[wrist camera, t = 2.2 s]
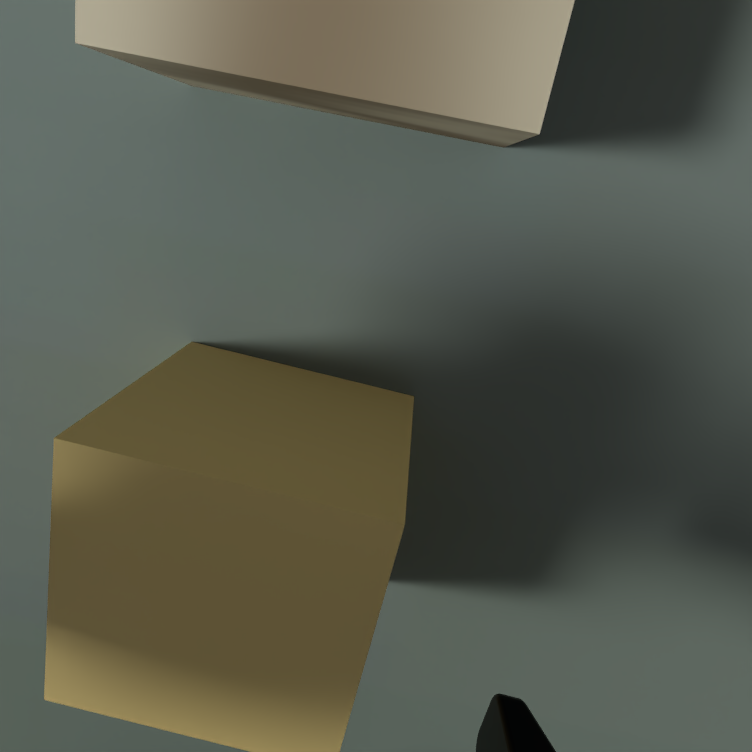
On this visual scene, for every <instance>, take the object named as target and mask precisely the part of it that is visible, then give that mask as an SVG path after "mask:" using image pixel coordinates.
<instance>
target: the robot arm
mask: <svg viewBox="0 0 752 752" xmlns="http://www.w3.org/2000/svg"><path fill="white" fill-rule="evenodd" d="M476 752H556V751H555V749H554V748H553V746H552V745H551V743H550V742H549V740H548V738H547V737H546V735H545V734H544V732H543V730H542V729H541V727H540V726H539V724H538V723H537V721H536V719H535V718H534V716H533V715H532V713H531V711H530V710H529V708H528V707H527V705H526V704H525V703H524V702H523V701H522V700H521V699H519V698H515V697H511V696H507V695H503V694H496V695H494V697H493V698H492V700H491V702H490V705H489V707H488V710H487V712H486V715H485V717H484V720H483V722H482V725H481V727H480V730H479V733H478V737H477V744H476Z"/></svg>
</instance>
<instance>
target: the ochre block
mask: <svg viewBox="0 0 752 752" xmlns="http://www.w3.org/2000/svg"><path fill="white" fill-rule="evenodd" d="M413 405H414V396H411V395H407V394H403V393H399V392H394V391H390V390H386V389H382V388H378V387H374V386H370V385H366V384H362V383H358V382H354V381H350V380H346V379H341V378H337V377H333V376H329V375H325V374H321V373H317V372H313V371H309V370H305V369H301V368H297V367H293V366H289V365H284V364H280V363H276V362H272V361H268V360H264V359H260V358H256V357H252V356H248V355H244V354H240V353H236V352H232V351H227V350H223V349H219V348H215V347H211V346H207V345H203V344H199V343H195V342H191V343H189V344H188V345H186V346H185V347H184V348H182V349H181V350H179V351H178V352H176V353H175V354H174V355H172V356H171V357H169V358H168V359H166V360H165V361H164V362H162V363H161V364H159V365H158V366H156V367H155V368H154V369H152V370H151V371H149V372H148V373H146V374H145V375H143V376H142V377H141V378H139V379H138V380H136V381H135V382H133V383H132V384H131V385H129V386H128V387H126V388H125V389H123V390H122V391H121V392H119V393H118V394H116V395H115V396H113V397H112V398H111V399H109V400H108V401H106V402H105V403H103V404H102V405H101V406H99V407H98V408H96V409H95V410H93V411H92V412H91V413H89V414H88V415H86V416H85V417H83V418H82V419H81V420H79V421H78V422H76V423H75V424H73V425H72V426H71V427H69V428H68V429H66V430H65V431H63V432H62V433H61V434H59V435H58V436H56V437H55V438H54V452H53V478H52V505H51V531H50V558H49V584H48V611H47V637H46V664H45V690H44V700H47V701H51V702H55V703H59V704H63V705H67V706H71V707H75V708H78V709H82V710H86V711H90V712H94V713H98V714H102V715H106V716H110V717H114V718H118V719H122V720H126V721H130V722H134V723H138V724H142V725H146V726H150V727H154V728H158V729H162V730H166V731H170V732H174V733H178V734H182V735H186V736H190V737H194V738H198V739H202V740H206V741H210V742H214V743H218V744H222V745H226V746H230V747H234V748H238V749H242V750H246V751H250V752H340V748H341V745H342V741H343V738H344V734H345V731H346V727H347V724H348V720H349V717H350V714H351V710H352V707H353V703H354V700H355V696H356V693H357V689H358V686H359V682H360V679H361V675H362V672H363V668H364V665H365V661H366V658H367V655H368V651H369V648H370V644H371V641H372V637H373V634H374V630H375V627H376V623H377V620H378V616H379V613H380V609H381V606H382V602H383V599H384V596H385V592H386V589H387V585H388V582H389V578H390V575H391V571H392V568H393V564H394V561H395V557H396V554H397V550H398V547H399V543H400V540H401V537H402V533H403V530H404V526H405V516H406V502H407V488H408V474H409V460H410V446H411V433H412V419H413Z"/></svg>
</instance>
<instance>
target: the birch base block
mask: <svg viewBox="0 0 752 752" xmlns="http://www.w3.org/2000/svg"><path fill="white" fill-rule="evenodd" d="M574 1H575V0H75V43H77V44H80V45H82V46H85V47H88V48H90V49H93V50H96V51H98V52H101V53H104V54H107V55H109V56H112V57H115V58H117V59H120V60H123V61H126V62H128V63H131V64H134V65H136V66H139V67H142V68H145V69H147V70H150V71H153V72H155V73H158V74H161V75H164V76H166V77H169V78H172V79H174V80H177V81H180V82H182V83H185V84H188V85H191V86H195V87H200V88H205V89H210V90H215V91H220V92H225V93H230V94H235V95H240V96H245V97H250V98H256V99H261V100H266V101H271V102H276V103H281V104H286V105H291V106H296V107H301V108H306V109H311V110H316V111H321V112H326V113H331V114H337V115H342V116H347V117H352V118H357V119H362V120H367V121H372V122H377V123H382V124H387V125H392V126H397V127H402V128H407V129H412V130H418V131H423V132H428V133H433V134H438V135H443V136H448V137H453V138H458V139H463V140H468V141H473V142H478V143H483V144H488V145H493V146H499V147H506V146H509V145H512V144H514V143H517V142H520V141H523V140H525V139H528V138H531V137H533V136H536V135H539V134H540V131H541V127H542V123H543V119H544V116H545V112H546V108H547V104H548V100H549V97H550V93H551V89H552V85H553V81H554V77H555V74H556V70H557V66H558V62H559V58H560V55H561V51H562V47H563V43H564V39H565V36H566V32H567V28H568V24H569V20H570V17H571V13H572V9H573V5H574Z"/></svg>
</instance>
